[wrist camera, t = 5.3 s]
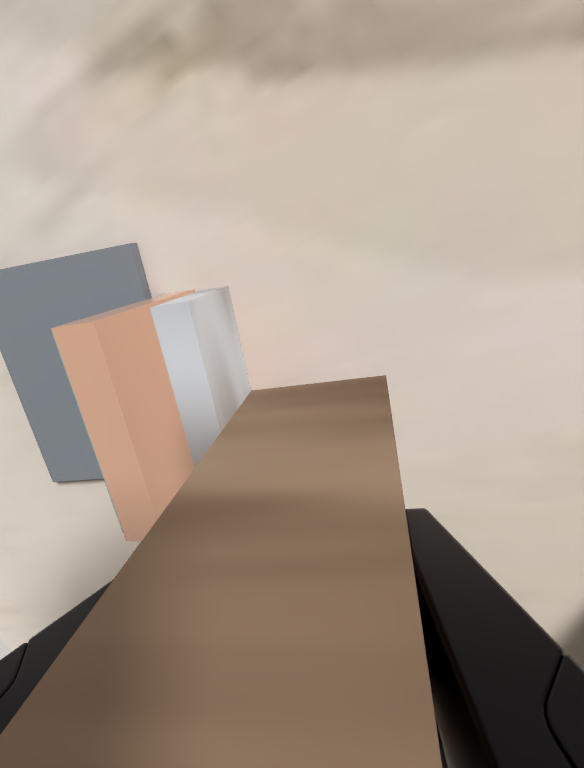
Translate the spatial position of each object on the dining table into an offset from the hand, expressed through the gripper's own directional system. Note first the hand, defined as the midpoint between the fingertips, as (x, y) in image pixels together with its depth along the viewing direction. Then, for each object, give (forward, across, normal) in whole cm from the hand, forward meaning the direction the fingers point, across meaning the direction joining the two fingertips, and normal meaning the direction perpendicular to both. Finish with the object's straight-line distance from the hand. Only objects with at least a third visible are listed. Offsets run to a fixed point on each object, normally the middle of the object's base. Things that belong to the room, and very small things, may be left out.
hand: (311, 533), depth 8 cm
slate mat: (+13, +13, -1) cm, 19 cm away
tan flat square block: (+13, +7, 0) cm, 15 cm away
